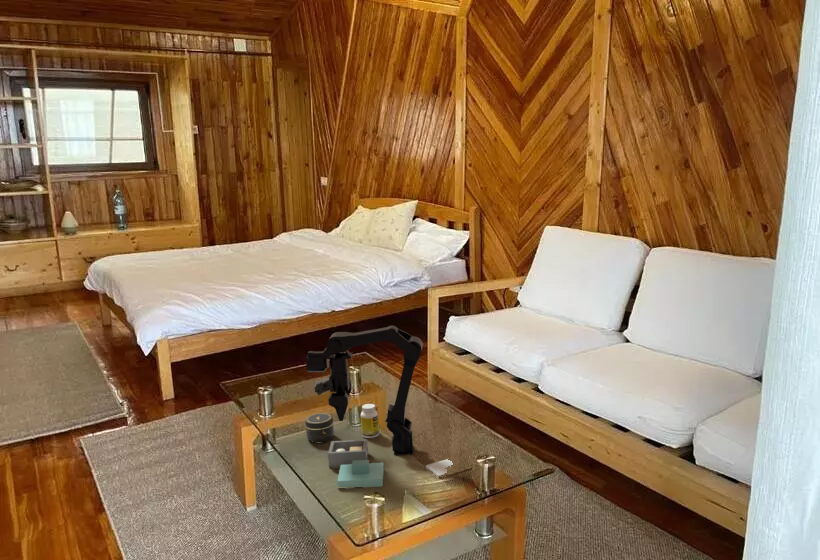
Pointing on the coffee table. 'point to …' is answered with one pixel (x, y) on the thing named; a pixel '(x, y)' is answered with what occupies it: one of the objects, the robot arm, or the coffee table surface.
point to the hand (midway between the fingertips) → (342, 415)
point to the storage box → (347, 452)
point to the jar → (319, 427)
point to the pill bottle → (369, 421)
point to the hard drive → (439, 467)
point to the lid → (361, 474)
